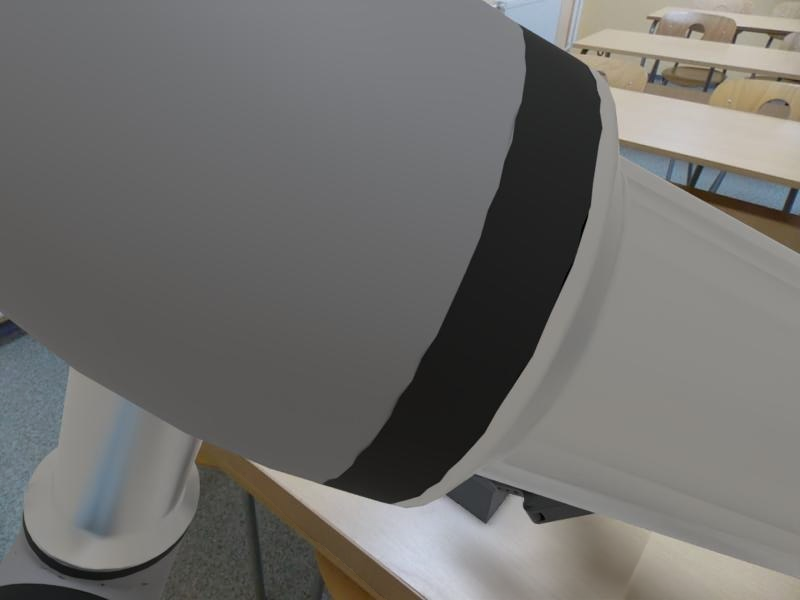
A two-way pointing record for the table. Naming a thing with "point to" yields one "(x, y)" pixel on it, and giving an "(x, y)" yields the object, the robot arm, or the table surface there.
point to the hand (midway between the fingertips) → (487, 404)
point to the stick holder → (478, 497)
